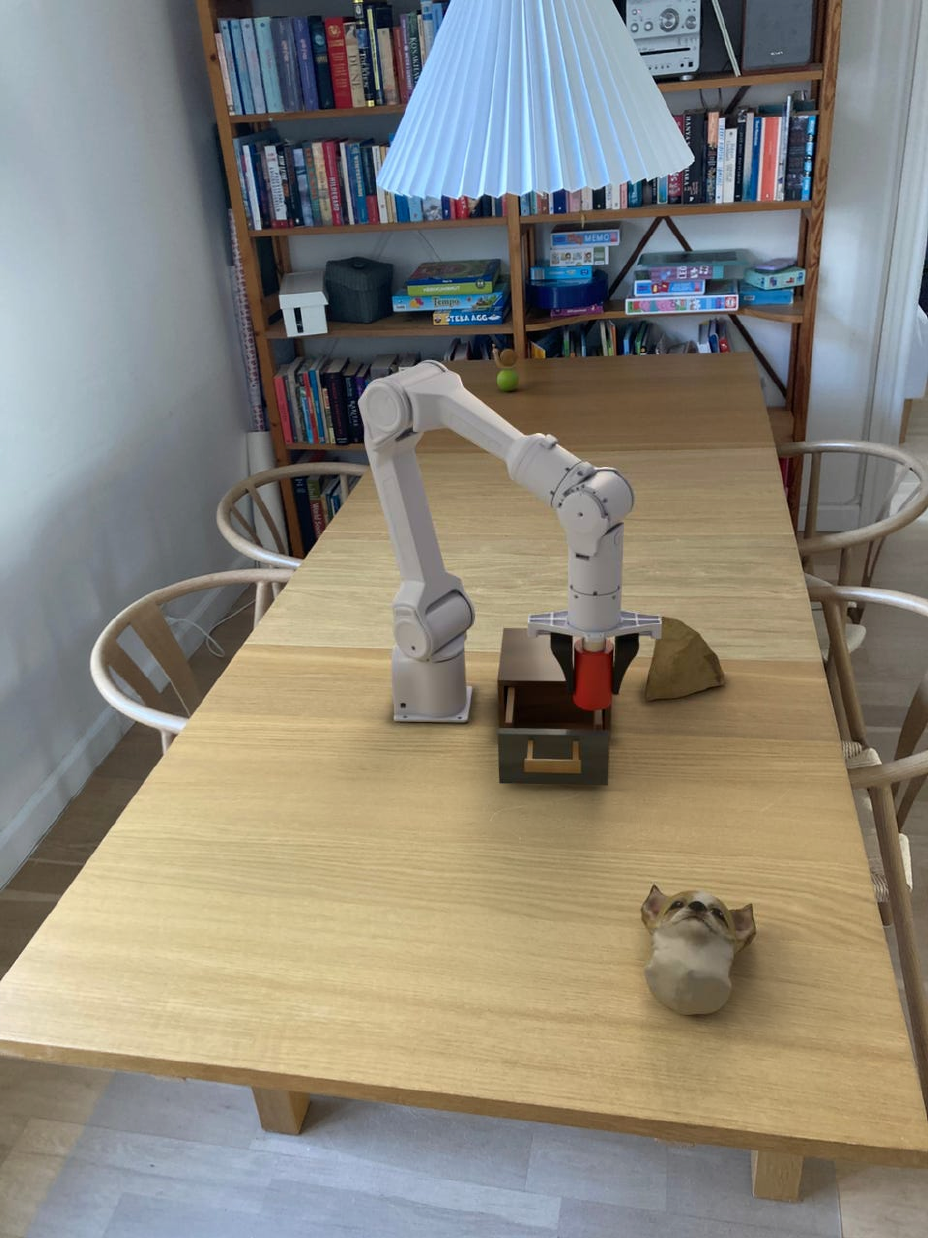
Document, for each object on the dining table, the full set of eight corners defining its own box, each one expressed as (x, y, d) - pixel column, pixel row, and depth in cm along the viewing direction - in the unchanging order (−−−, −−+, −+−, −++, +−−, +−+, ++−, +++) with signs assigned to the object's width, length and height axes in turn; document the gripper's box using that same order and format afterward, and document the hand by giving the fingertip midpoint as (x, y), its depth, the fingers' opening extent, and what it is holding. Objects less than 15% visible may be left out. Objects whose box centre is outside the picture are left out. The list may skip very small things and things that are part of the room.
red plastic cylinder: (573, 710, 114) (574, 645, 110) (573, 689, 118) (574, 625, 114) (612, 711, 114) (615, 646, 110) (611, 689, 117) (613, 626, 113)
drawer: (609, 814, 111) (611, 763, 107) (496, 811, 112) (494, 760, 109) (604, 727, 125) (606, 679, 122) (504, 725, 126) (503, 678, 123)
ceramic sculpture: (623, 945, 84) (650, 836, 97) (617, 1020, 88) (644, 906, 101) (755, 974, 81) (765, 857, 94) (744, 1050, 85) (755, 928, 98)
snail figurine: (490, 389, 255) (489, 341, 249) (514, 386, 257) (513, 338, 251) (497, 395, 251) (496, 346, 245) (521, 392, 252) (521, 343, 246)
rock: (732, 652, 136) (658, 634, 138) (740, 628, 128) (662, 609, 131) (714, 727, 133) (639, 707, 135) (721, 707, 125) (641, 686, 127)
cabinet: (610, 742, 124) (612, 681, 119) (499, 740, 125) (497, 680, 121) (606, 686, 135) (608, 628, 130) (504, 684, 136) (503, 627, 132)
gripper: (525, 600, 106) (527, 708, 112) (666, 601, 104) (660, 710, 111) (528, 570, 112) (530, 674, 119) (661, 570, 110) (655, 676, 117)
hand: (592, 689), depth 115 cm, fingers closed on red plastic cylinder, 4 cm apart
